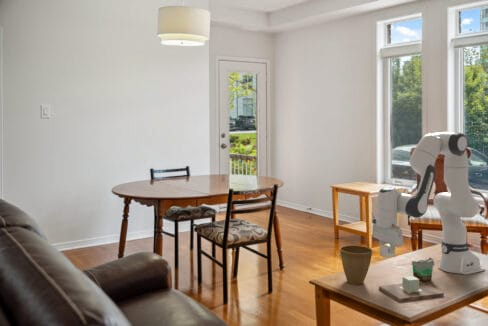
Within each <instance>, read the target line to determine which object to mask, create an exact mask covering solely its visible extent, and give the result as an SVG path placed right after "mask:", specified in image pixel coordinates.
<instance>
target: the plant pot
mask: <svg viewBox="0 0 488 326" xmlns="http://www.w3.org/2000/svg"><path fill="white" fill-rule="evenodd" d="M339 249H340V259H341V265H342V269H343V272H344V275H345V276H344V277H345V279H346V281H347V283H348V284H351V285H362V284H364V282H365V280H366V277H367V274H368V272H369V268H370V265H371V261H372V255H373V249H372V248H370V247H368V246H363V245H353V244H352V245H342V246H341V247H340V248H339Z"/></svg>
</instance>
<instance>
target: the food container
mask: <svg viewBox="0 0 488 326" xmlns="http://www.w3.org/2000/svg"><path fill="white" fill-rule="evenodd" d="M411 266H412V276H414V277H416V278H418V279H419V281H421V282H423V283H425V284H427V283H431V282H432V277H433V270H434V266H435V260H434V258H432V257H428V259H420V260H419V261H418V260H417V261H415V260H412V262H411Z"/></svg>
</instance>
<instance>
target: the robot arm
mask: <svg viewBox="0 0 488 326" xmlns="http://www.w3.org/2000/svg"><path fill="white" fill-rule="evenodd" d="M468 143H469V141H468V139H467V136H466V135H465V134H464V133H461V132H458V131H456V132H453V131H440V132H429V133H427V134H425V135H424V136H422V137H421V139H420V140H419V142H418V143H417V145H416V146H415V148H414V149H413V151H412V154H411V155H410V157H409V165H410V167H411V169H412V170H413V171H414V172H415V173H417V174H418V175H419V176H420V181H419V184H418V187H417V191H416V193H414V194H410V193H409V194H408V193H404V192H401V191H399V190H398V189H396V187H393V186H385V187H382V188H381V189H379V190H378V191H379V192H378V194H377V209H378V210H377V211H378V212H377V217H375V218H372V219H371V223H372V225H371V227H372V228H371V229H372V230H371V231H372V236H373V238H374V239H377V240H379V246H380V245H382V244H390V249H389V253H390V254H393V253H394V249H395V250H396V248H400V247H403V246H404V235H403V231H402V229H401V227H400V226H399V225H398V214H400V215H401V214H402V215H406V216H409V217H412V218H414V219H418V218H421V217H422V216H423V215H425V214H426V213H427V210H428V206H429V205H428V204H429V198H430V195H431V193H432V189H433V186H434V182H435V178H436V174H437V170H436V168H435V164H436V162H437V161H436V160H437V159H438V157H439V155H444V160H443V182H444V184H445V186H446V187H447V188H448V190H449V192H448V191H445V192H444V191H443V192H439V193H436V195H435V196H434V198H433V206H434V208H435V209H436V210H437V212H438V215H439V217H440V221H441V225H442V240H441V246H440V247H441V255H440V260H439V264H438V269H439V270H441V271H443V272H448V273H454V274H461V275H465V276H466V275H471V274H475V273H480V272H485V270H486V267H484V266H482V265H481V261H480V258H479V256H478V255H477V254H475V253H474V252H473V251H472V250H470V248H471V249H473V248H474V244H473V243H470V242H469V243H468V242H467V230H468V229H467V226H466V225H465V223H464V222H463V221H462V218H465V219H466V218H467V219H469V218H475V216H477V214H478V213H479V210H480V204H479V201H478V200H477V199H476V198H475V197H474V195H473V194H472V191H471V188H470V184H469V165H468V164H469V160H468V153H467V149H468V146H469V144H468Z"/></svg>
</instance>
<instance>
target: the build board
mask: <svg viewBox="0 0 488 326" xmlns="http://www.w3.org/2000/svg"><path fill="white" fill-rule="evenodd" d="M402 285H403V282H402V283H395V284H394V283H393V284H387V285H386V284H385V285H378V290H379V291H381V292H383V293H385V295H388V296H389V297H390V298H392V299H394V300H395V301H397V302H399V303H403V302H404V303H405V302H411V301H412V302H413V301H418V300H427V299H435V298H440V297H441V298H442V297H445V293H444V292H443V291H441V290H439V289H438V288H437V289H436V288H435V287H433V286H431V285H429V284H427V283H423V282H421V281H419V290H418V291H410V292H409V291H407V290H406V289H404V288H402Z"/></svg>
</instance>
